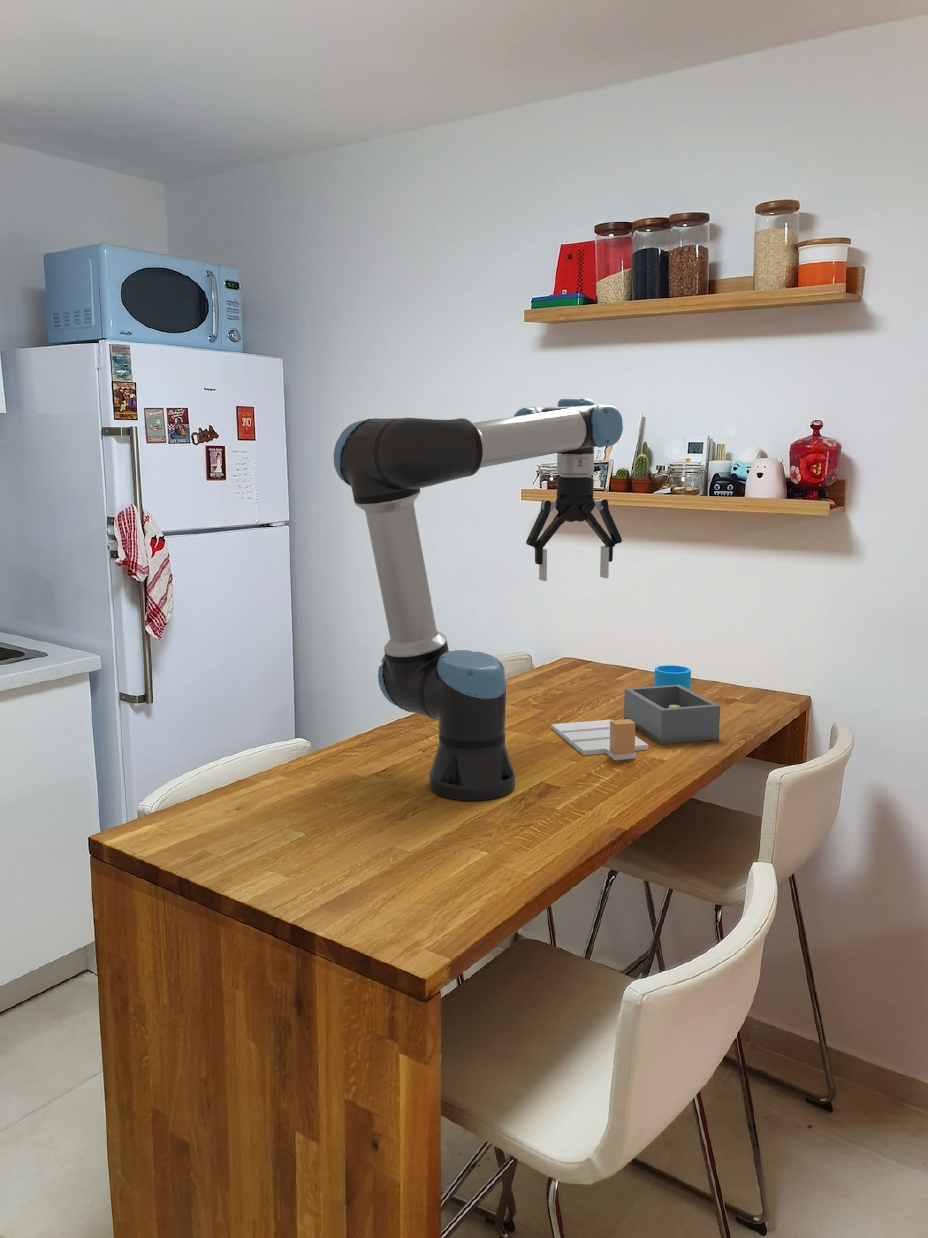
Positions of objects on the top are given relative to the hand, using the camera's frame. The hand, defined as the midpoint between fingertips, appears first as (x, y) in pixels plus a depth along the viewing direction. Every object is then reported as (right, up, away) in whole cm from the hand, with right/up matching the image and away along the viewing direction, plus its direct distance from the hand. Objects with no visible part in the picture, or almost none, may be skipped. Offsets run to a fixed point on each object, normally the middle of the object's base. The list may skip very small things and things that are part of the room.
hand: (573, 578), depth 199 cm
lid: (+5, -33, -5) cm, 34 cm away
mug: (+26, -28, +25) cm, 45 cm away
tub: (+21, -32, +3) cm, 38 cm away
